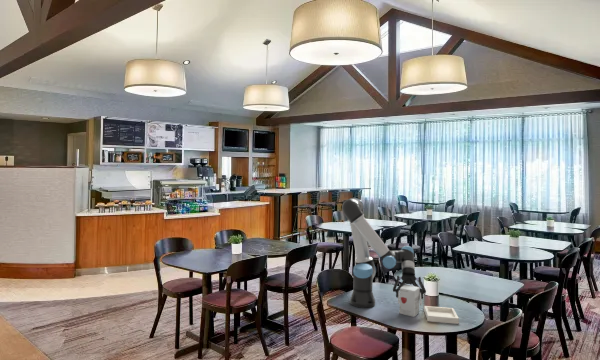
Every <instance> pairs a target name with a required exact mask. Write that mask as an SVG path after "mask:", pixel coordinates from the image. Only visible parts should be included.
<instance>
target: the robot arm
mask: <svg viewBox="0 0 600 360" xmlns="http://www.w3.org/2000/svg"><path fill="white" fill-rule="evenodd" d="M364 209H365V205H364V203H363V201H362V200H361V199H359V198H357V197H351V198H348V199H346V200H344V202H343V203H342V205H341V211H342V214H344V216H345V218H346V220H347V222H349V226H350V230H351V236H352V242H353V245H354V251H355V257H356V259H355V261H354V263H355V265H354V266H353V269H352V273H353V277H352V278H353V282H352V283H353V284H352V286H353V289H352V293H351V296H350V299H349V303H350V305H351V306H353V307H356V308H360V309H361V308H362V309H366V308H367V309H368V308H373V307H375V306H376V300H375V296H374V293H373V280H374V278H375V276H376V275H377V274H376V273H377V267H376V266H375V262H374V258H373V257H371V256H370V255H371V254H370V249H369V246H370V247H371V248H372V249H373V251H374V253H375V254H376V255H377V256H378V258H379V259H380V260H381V261H382V266H383V267H384V268H386V269H389V270H390V269H393V268H395V266H396V265H397V263H401V276H399V275H397V276H396V281H395V283H394V285H393V287H392V292H393V293H395V296H396V297H395V298H397V302H398V303H397V304H399V305H400V288H401V287H402V286H404V285H410V286H415V287H420V294H419V306H422V303H423V302H422V300H424V294H425V295H426V293H427V289H426V288H425V285H424V283H423V282H422V278H421V276H418V277H416V270H415V269H416V268H415V254H414V253H415V251H414V248H413V247H412V246H410V245H404V246H403V247H401V249H400V250H390V249H389V248H388V246H387V245H386V244H385V243H384V241H383V240H382V238H381V237H380V236H379V234H378V233H377V232H376V231H375V229H374V227H372V225H370V223H369V222H368V220H367V219H366V218H365V217H366V216H365V212H364ZM401 280H402V282H401V283H400V284H399V282H400V281H401ZM416 281H417V282H418V283H417V282H416ZM418 284H419V285H418Z"/></svg>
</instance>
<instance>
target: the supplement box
mask: <svg viewBox="0 0 600 360" xmlns="http://www.w3.org/2000/svg"><path fill="white" fill-rule="evenodd" d="M420 289H421V287H420V286H419V287H415V286H413V285H410V284H405V285H404V286H402V287H401V288H400V304H399V307H398V308H399V309H398V310H399V312H398V313H399V314H400V315H404V316H409V317H413V318H414V317H415V318H416V316H417V315H418V314H419V313H420V299H419V294H420Z"/></svg>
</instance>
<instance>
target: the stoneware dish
mask: <svg viewBox="0 0 600 360" xmlns="http://www.w3.org/2000/svg"><path fill="white" fill-rule="evenodd" d="M423 307H424V310H423V311H424V314H425V317H426V320H427V322H433V323H442V324H453V325H454V324H457V325H458V324H460V317H459V316H458V314H457V312H456V310H455V308H453V307H444V306H442V307H441V306H428V305H424V306H423Z"/></svg>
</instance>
